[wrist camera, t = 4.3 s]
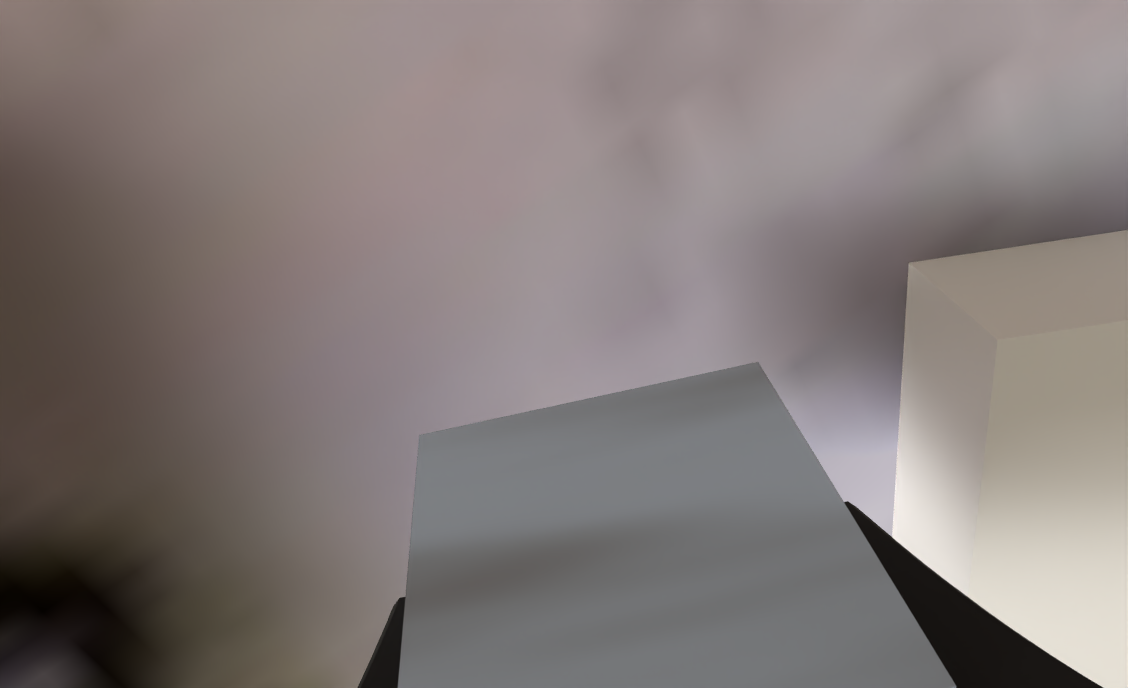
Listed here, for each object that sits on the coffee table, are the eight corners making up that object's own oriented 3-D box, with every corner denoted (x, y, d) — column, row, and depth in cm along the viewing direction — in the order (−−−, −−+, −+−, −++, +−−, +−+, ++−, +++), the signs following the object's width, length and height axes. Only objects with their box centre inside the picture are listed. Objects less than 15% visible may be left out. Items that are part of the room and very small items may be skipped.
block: (784, 616, 14) (951, 999, 9) (496, 678, 14) (512, 1093, 9) (758, 362, 12) (956, 685, 7) (419, 435, 12) (387, 809, 7)
